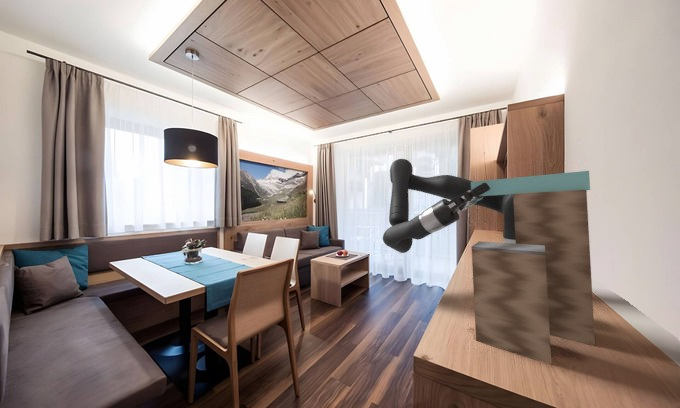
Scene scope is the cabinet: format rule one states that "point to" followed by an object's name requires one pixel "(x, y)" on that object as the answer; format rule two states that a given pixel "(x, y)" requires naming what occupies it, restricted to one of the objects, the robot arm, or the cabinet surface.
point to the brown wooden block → (512, 298)
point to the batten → (537, 184)
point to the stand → (561, 257)
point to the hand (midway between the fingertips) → (490, 186)
